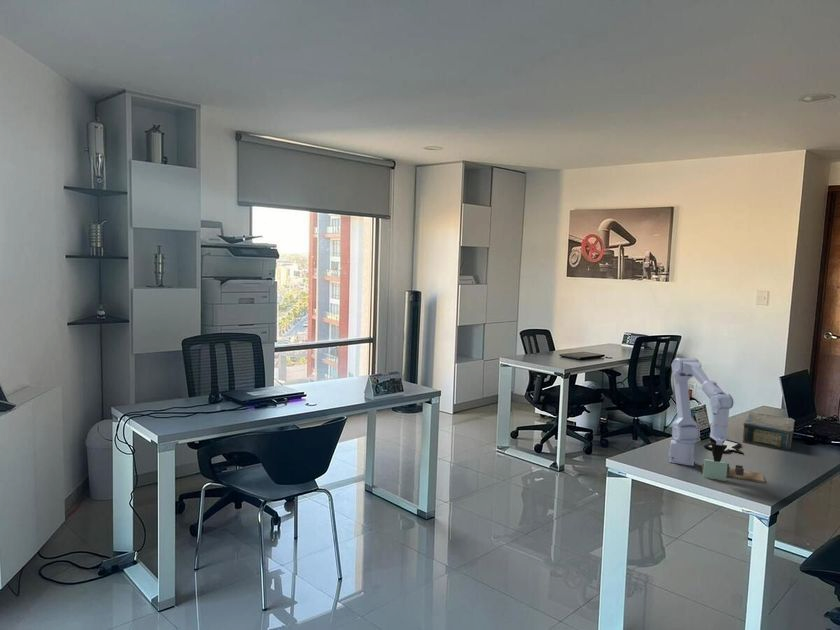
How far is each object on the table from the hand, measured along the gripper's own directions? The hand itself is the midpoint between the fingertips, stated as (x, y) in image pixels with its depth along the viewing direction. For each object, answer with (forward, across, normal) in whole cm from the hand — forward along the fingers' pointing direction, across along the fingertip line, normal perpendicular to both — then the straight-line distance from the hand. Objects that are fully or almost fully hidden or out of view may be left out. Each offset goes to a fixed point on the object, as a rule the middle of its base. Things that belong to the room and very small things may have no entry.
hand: (716, 458), depth 236 cm
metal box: (+8, +81, -29) cm, 86 cm away
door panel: (+8, 0, 0) cm, 8 cm away
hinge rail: (+8, +10, -7) cm, 15 cm away
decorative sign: (+9, +51, -9) cm, 52 cm away
